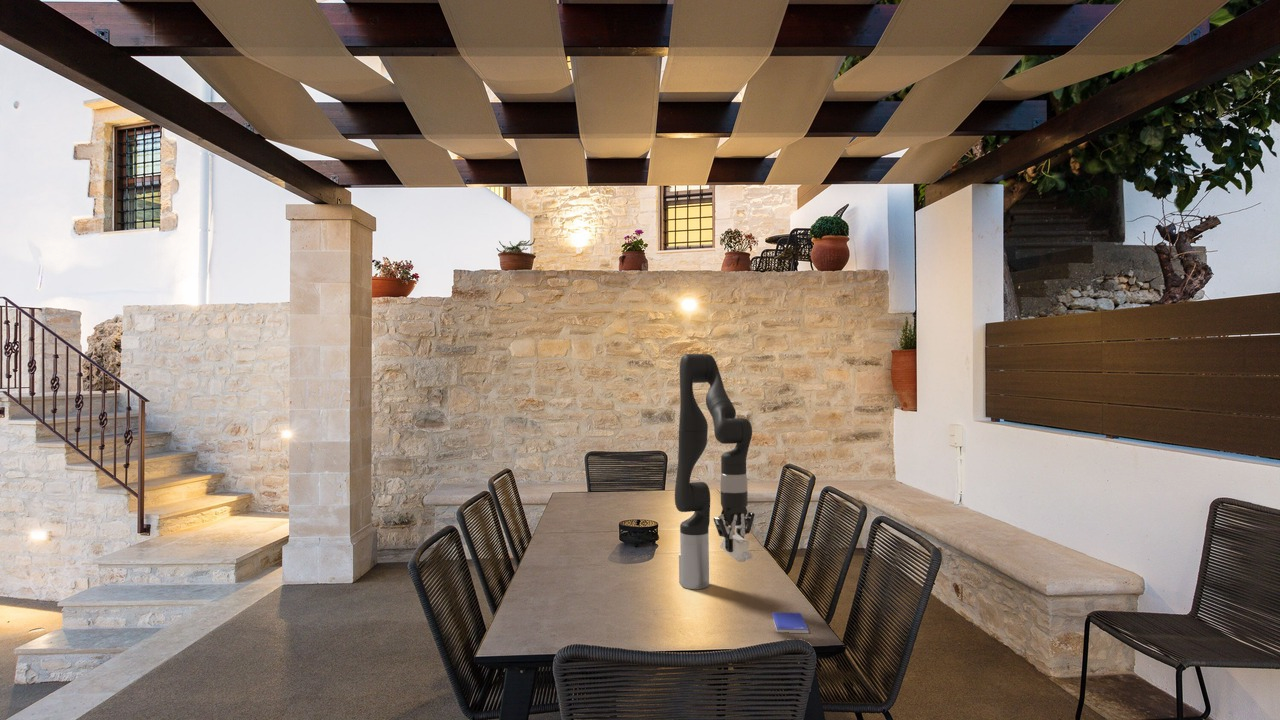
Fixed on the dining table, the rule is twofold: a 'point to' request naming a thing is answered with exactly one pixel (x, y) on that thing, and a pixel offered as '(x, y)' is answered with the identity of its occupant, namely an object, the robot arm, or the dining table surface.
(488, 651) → the dining table surface
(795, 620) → the hard drive
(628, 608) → the dining table surface
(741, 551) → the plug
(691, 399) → the robot arm
